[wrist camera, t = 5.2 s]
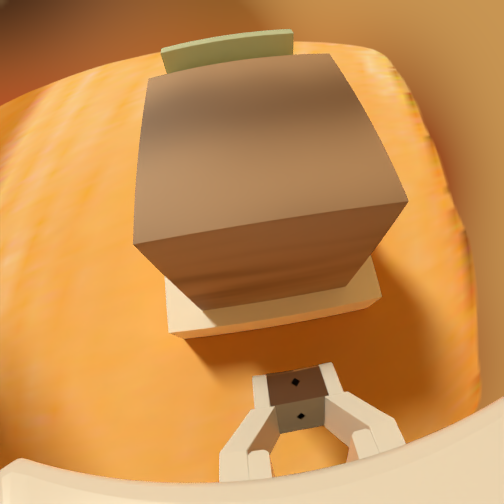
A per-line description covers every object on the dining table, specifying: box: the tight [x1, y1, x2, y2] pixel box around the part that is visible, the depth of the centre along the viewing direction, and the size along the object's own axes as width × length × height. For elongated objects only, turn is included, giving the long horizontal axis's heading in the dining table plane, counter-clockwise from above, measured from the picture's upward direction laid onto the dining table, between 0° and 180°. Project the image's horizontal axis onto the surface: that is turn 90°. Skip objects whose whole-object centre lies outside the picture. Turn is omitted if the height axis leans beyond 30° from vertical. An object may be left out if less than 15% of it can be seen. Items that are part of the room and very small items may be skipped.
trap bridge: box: [161, 29, 382, 339], centre depth 21 cm, size 24×12×6 cm, turn 8°
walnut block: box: [133, 54, 408, 311], centre depth 14 cm, size 8×8×9 cm
